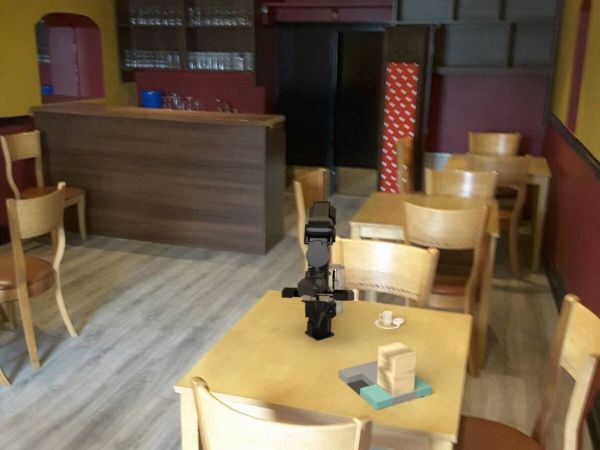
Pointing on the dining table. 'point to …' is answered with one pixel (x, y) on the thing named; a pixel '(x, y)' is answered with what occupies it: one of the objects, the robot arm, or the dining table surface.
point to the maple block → (396, 368)
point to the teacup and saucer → (389, 320)
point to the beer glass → (337, 282)
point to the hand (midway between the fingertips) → (316, 327)
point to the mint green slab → (383, 400)
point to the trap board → (369, 380)
